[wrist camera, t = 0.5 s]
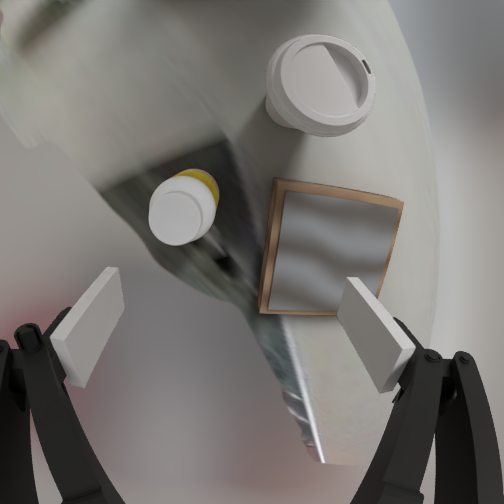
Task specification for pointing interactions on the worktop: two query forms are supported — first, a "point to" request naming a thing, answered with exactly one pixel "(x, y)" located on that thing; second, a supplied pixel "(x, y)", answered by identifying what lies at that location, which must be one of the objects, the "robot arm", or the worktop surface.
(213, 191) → the supplement bottle
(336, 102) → the coffee cup
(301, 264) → the plinth
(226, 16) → the worktop surface
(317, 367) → the worktop surface
